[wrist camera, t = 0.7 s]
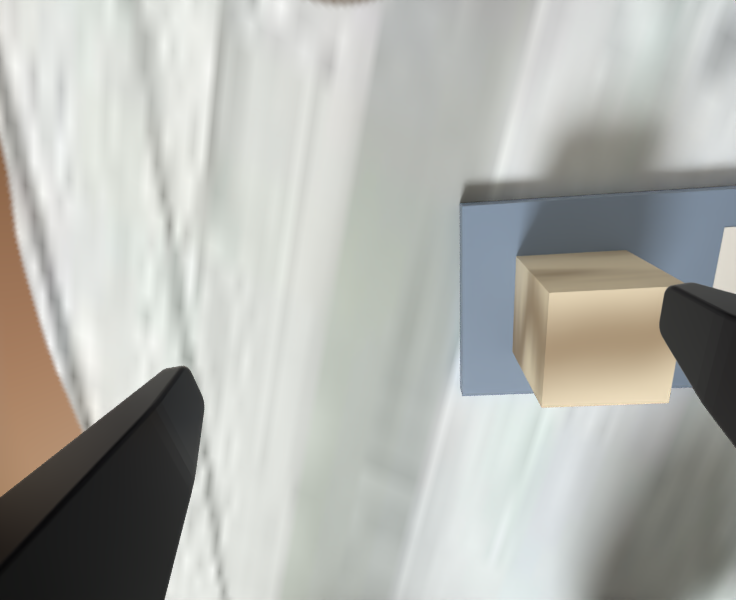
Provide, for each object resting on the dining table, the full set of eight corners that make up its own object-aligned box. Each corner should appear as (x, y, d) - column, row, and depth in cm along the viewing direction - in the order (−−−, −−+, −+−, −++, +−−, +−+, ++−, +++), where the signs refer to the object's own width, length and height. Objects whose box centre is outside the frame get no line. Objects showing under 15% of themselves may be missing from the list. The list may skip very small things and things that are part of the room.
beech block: (614, 347, 24) (668, 403, 19) (512, 351, 24) (541, 407, 20) (626, 249, 22) (689, 285, 17) (516, 256, 22) (549, 292, 18)
